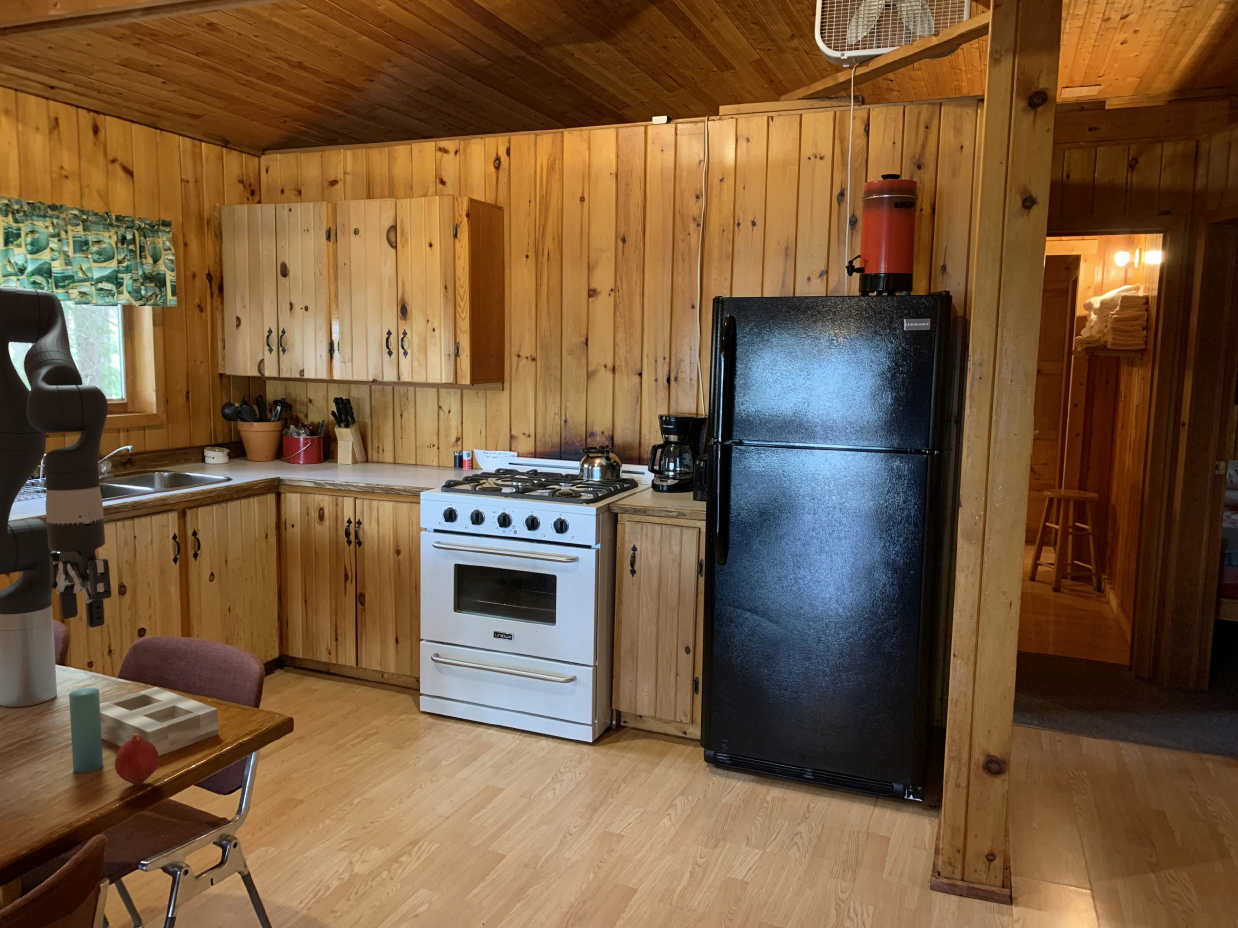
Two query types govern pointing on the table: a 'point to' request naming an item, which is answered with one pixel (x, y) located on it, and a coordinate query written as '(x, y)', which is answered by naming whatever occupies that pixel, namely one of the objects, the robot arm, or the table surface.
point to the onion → (136, 760)
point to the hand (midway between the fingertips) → (82, 621)
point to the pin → (86, 730)
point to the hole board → (158, 720)
